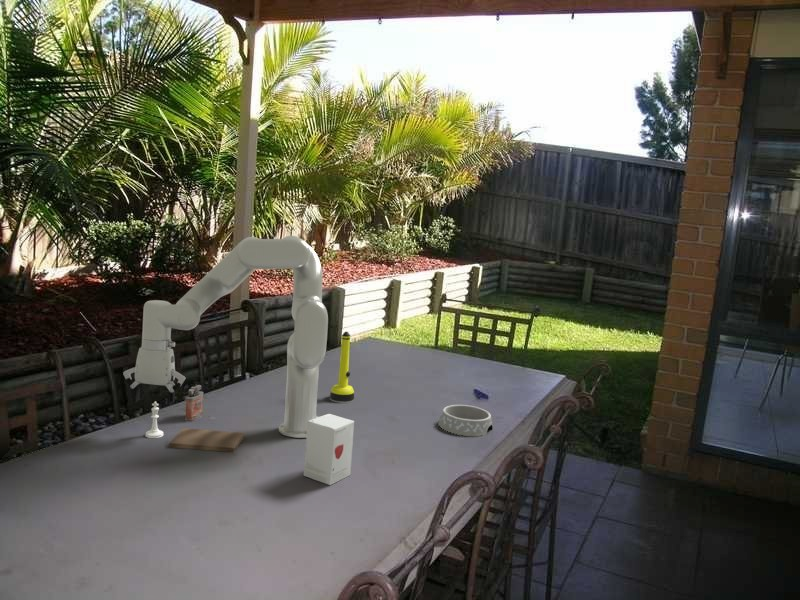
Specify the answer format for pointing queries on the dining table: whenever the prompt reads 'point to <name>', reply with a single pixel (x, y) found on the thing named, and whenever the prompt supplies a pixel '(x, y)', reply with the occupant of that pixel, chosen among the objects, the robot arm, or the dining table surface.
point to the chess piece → (154, 424)
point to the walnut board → (207, 440)
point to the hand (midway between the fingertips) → (153, 402)
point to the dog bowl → (465, 420)
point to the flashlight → (343, 375)
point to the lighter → (194, 404)
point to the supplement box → (328, 448)
